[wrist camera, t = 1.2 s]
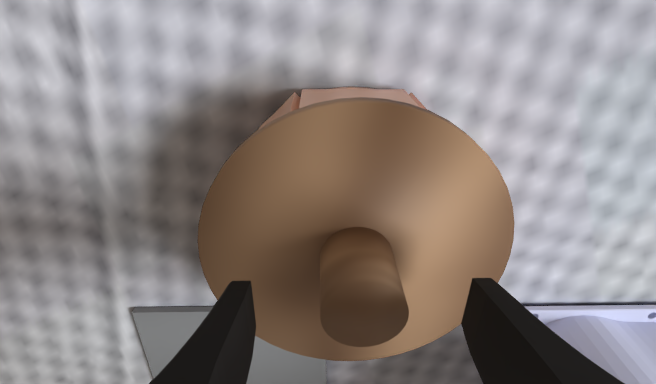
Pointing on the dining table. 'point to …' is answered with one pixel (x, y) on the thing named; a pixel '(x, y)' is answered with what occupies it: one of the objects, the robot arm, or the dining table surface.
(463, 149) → the lid
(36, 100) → the dining table surface
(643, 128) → the dining table surface
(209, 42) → the dining table surface
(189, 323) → the mat
